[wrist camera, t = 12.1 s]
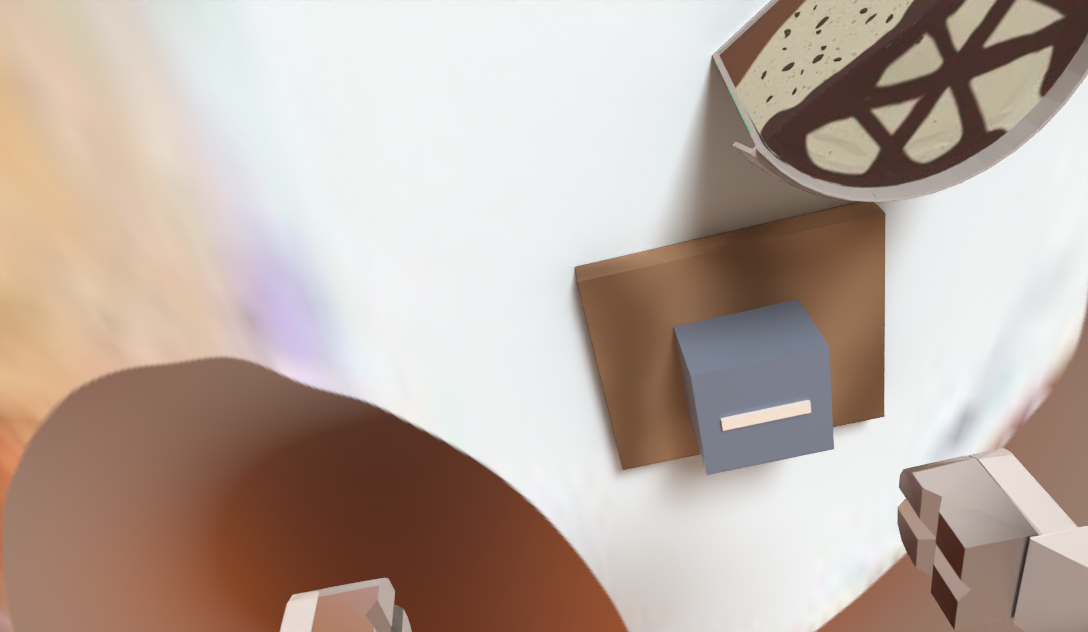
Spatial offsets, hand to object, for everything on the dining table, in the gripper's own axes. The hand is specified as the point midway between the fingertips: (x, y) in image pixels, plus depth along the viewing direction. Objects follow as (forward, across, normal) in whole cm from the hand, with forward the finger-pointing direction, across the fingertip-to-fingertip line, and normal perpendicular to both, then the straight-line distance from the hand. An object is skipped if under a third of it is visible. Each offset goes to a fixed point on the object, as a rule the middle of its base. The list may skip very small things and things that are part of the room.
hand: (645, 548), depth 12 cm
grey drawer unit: (+22, -7, +14) cm, 27 cm away
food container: (+24, -13, 0) cm, 27 cm away
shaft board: (+24, -7, +14) cm, 28 cm away
